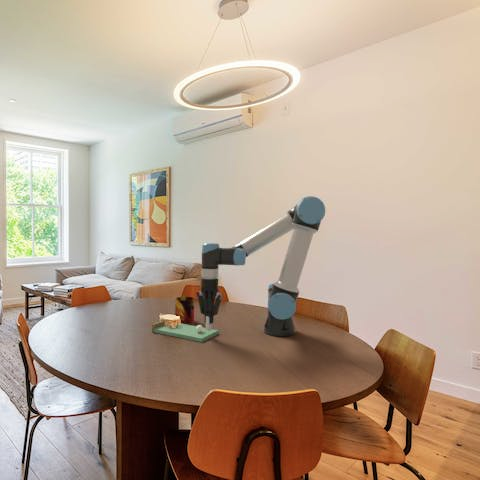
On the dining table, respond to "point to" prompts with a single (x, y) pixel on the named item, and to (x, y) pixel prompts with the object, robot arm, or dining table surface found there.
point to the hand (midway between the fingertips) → (208, 330)
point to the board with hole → (184, 331)
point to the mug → (185, 309)
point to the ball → (199, 328)
